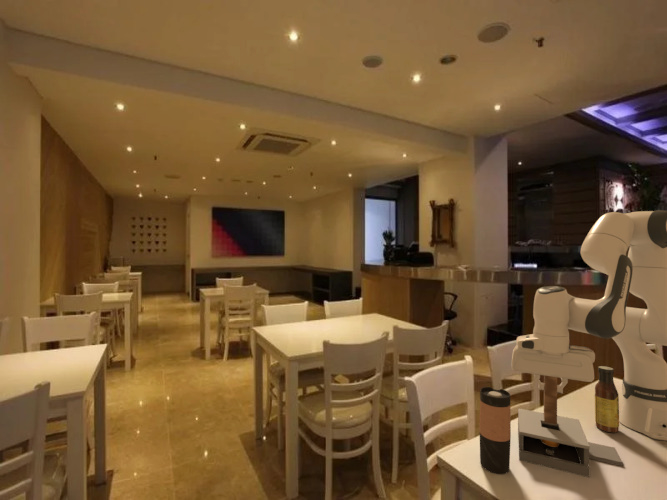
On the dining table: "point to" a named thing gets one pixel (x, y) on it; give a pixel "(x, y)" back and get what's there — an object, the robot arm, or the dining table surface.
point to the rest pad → (604, 454)
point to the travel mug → (495, 430)
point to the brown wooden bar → (550, 399)
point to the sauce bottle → (606, 401)
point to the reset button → (550, 443)
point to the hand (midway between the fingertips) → (550, 391)
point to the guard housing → (562, 433)
